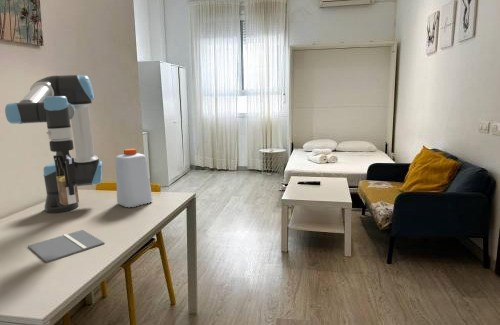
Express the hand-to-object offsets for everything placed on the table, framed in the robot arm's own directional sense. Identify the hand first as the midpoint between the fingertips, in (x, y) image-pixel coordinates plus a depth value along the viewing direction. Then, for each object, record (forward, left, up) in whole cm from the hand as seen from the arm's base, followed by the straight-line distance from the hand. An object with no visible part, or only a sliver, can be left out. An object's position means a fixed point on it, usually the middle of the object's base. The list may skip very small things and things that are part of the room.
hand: (69, 201), depth 134 cm
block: (0, 0, 0) cm, 0 cm away
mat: (0, -3, -16) cm, 17 cm away
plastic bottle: (-29, +41, -17) cm, 53 cm away
